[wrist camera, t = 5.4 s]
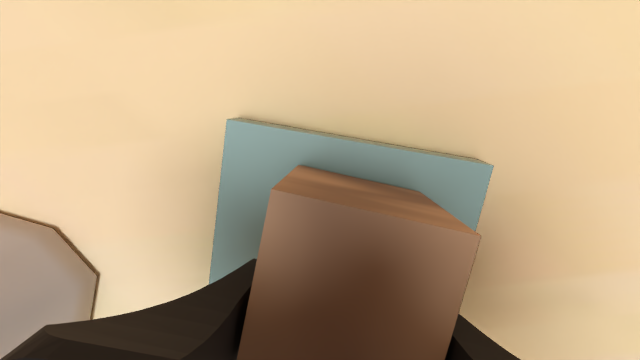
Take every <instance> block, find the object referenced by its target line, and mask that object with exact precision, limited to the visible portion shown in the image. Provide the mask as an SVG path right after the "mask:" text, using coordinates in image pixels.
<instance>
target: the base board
mask: <svg viewBox="0 0 640 360" xmlns="http://www.w3.org/2000/svg"><path fill="white" fill-rule="evenodd" d="M298 165H303V166H307V167H311V168H316V169H320V170H325V171H329V172H334V173H338V174H343V175H347V176H352V177H356V178H361V179H365V180H370V181H374V182H379V183H383V184H388V185H392V186H397V187H401V188H406V189H410V190H415V191H419V192H421V193H422V194H424V195H425V196H426V197H428V198H429V199H431V200H432V201H433V202H435V203H436V204H437V205H439V206H440V207H442V208H443V209H444V210H446V211H447V212H449V213H450V214H451V215H453V216H454V217H455V218H457V219H458V220H460V221H461V222H462V223H464V224H465V225H467V226H468V227H469V228H471V229H472V230H474V231H476V227H477V224H478V220H479V217H480V213H481V209H482V206H483V202H484V199H485V195H486V192H487V188H488V185H489V181H490V177H491V174H492V170H493V167H494V166H493V165H491V164H488V163H486V162H483V161H481V160H478V159H473V158H467V157H461V156H455V155H450V154H444V153H438V152H432V151H427V150H421V149H415V148H409V147H404V146H398V145H392V144H386V143H381V142H375V141H369V140H363V139H358V138H352V137H346V136H340V135H334V134H329V133H323V132H317V131H311V130H306V129H300V128H294V127H288V126H283V125H277V124H271V123H265V122H260V121H254V120H248V119H242V118H233V119H227V122H226V132H225V141H224V150H223V159H222V168H221V177H220V187H219V196H218V205H217V214H216V223H215V232H214V242H213V251H212V260H211V269H210V278H209V284H211V283H213V282H215V281H217V280H219V279H221V278H223V277H224V276H226V275H228V274H229V273H231V272H233V271H234V270H236V269H238V268H239V267H241V266H242V265H244V264H245V263H247V262H249V261H250V260H252V259H254V258H255V259H257V257H258V252H259V247H260V242H261V237H262V232H263V227H264V222H265V217H266V212H267V207H268V202H269V197H270V192H271V189H272V188H273V187H274V186H275V185H276V184H277V183H278V182H280V181H281V180H282V179H283V178H284V177H285V176H286V175H287V174H289V173H290V172H291V171H292V170H293V169H294V168H295V167H296V166H298Z"/></svg>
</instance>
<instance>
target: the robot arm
mask: <svg viewBox="0 0 640 360" xmlns="http://www.w3.org/2000/svg"><path fill="white" fill-rule="evenodd" d="M256 262H257V259H255V258H254V259H252V260H250V261H249V262H247V263H245V264H244V265H242V266H241V267H239V268H238V269H236V270H234V271H233V272H231V273H229V274H228V275H226V276H224V277H223V278H221V279H219V280H217V281H215V282H213V283H211V284H209V285H207V286H206V287H204V288H202V289H200V290H198V291H195V292H193V293H191V294H188V295H186V296H183V297H181V298H178V299H175V300H173V301H170V302H167V303H163V304H160V305H157V306H153V307H150V308H146V309H143V310H139V311H135V312H131V313H126V314H122V315H117V316H111V317H106V318H100V319H94V320H86V321H77V322H68V323H60V324H49V325H45V326H44V327H43V328H41V329H40V330H38V331H37V332H36V333H34V334H33V335H32V336H31V337H29V338H28V339H27V340H25V341H24V342H23V343H21V344H20V345H19V346H17V347H16V348H15V349H13V350H12V351H11V352H9V353H8V354H7V355H5V356H4V357H3V358H1V359H0V360H237V356H238V351H239V346H240V341H241V336H242V331H243V326H244V321H245V316H246V311H247V306H248V301H249V296H250V292H251V287H252V282H253V277H254V272H255V267H256ZM445 360H520V359H519V358H517V357H516V356H514V355H512V354H511V353H509V352H508V351H507V350H505V349H504V348H502V347H501V346H499V345H498V344H497V343H495V342H494V341H493V340H491V339H490V338H489V337H487V336H486V335H485V334H483V333H482V332H481V331H479V330H478V329H477V328H476V327H474V326H473V325H472V324H471V323H469V322H468V321H467V320H466V319H465V318H463V317H462V316H461V315H460V314H459V313H458V317H457V320H456V323H455V327H454V330H453V334H452V337H451V340H450V344H449V347H448V351H447V354H446V357H445Z"/></svg>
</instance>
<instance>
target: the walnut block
mask: <svg viewBox="0 0 640 360" xmlns="http://www.w3.org/2000/svg"><path fill="white" fill-rule="evenodd" d="M480 239H481V236H480V235H479V234H478V233H476V232H475V231H474V230H472V229H471V228H469V227H468V226H467V225H465V224H464V223H462V222H461V221H460V220H458V219H457V218H455V217H454V216H453V215H451V214H450V213H449V212H447V211H446V210H444V209H443V208H442V207H440V206H439V205H437V204H436V203H435V202H433V201H432V200H431V199H429V198H428V197H426V196H425V195H424V194H422V193H421V192H419V191H415V190H410V189H406V188H401V187H397V186H392V185H388V184H383V183H379V182H374V181H370V180H365V179H361V178H356V177H352V176H347V175H343V174H338V173H334V172H329V171H325V170H320V169H316V168H311V167H307V166H303V165H298V166H296V167H295V168H294V169H293V170H292V171H291V172H290V173H289V174H287V175H286V176H285V177H284V178H283V179H282V180H281V181H280V182H278V183H277V184H276V185H275V186H274V187H273V188H272V189H271V192H270V197H269V202H268V207H267V212H266V217H265V222H264V227H263V232H262V237H261V242H260V247H259V252H258V257H257V262H256V267H255V272H254V277H253V282H252V287H251V292H250V296H249V301H248V306H247V311H246V316H245V321H244V326H243V331H242V336H241V341H240V346H239V351H238V356H237V360H445V357H446V354H447V351H448V347H449V344H450V340H451V337H452V334H453V330H454V327H455V323H456V320H457V317H458V313H459V310H460V307H461V303H462V300H463V296H464V293H465V290H466V286H467V283H468V279H469V276H470V273H471V269H472V266H473V263H474V259H475V256H476V252H477V249H478V246H479V242H480Z"/></svg>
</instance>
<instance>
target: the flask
mask: <svg viewBox="0 0 640 360" xmlns="http://www.w3.org/2000/svg"><path fill="white" fill-rule="evenodd" d="M96 279H97V276H96V275H95V274H94V272H93V271H92V270H91V269H90V268H89V267H88V266H87V265H86V264H85V263H84V262H83V261H82V259H81V258H80V257H79V256H78V255H77V254H76V253H75V252H74V251H73V250H72V249H71V248H70V246H69V245H68V244H67V243H66V242H65V241H64V240H63V239H62V238H61V237H60V236H59V235H58V233H57V232H56V231H55V230H54V229H53V228H50V227H46V226H43V225H39V224H36V223H32V222H29V221H25V220H22V219H18V218H15V217H11V216H8V215H4V214H1V213H0V359H1V358H3V357H4V356H5V355H7V354H8V353H9V352H11V351H12V350H13V349H15V348H16V347H17V346H19V345H20V344H21V343H23V342H24V341H25V340H27V339H28V338H29V337H31V336H32V335H33V334H34V333H36V332H37V331H38V330H40V329H41V328H43V327H44V326H45V325H49V324H60V323H68V322H77V321H86V320H90V316H91V310H92V304H93V298H94V291H95V285H96Z"/></svg>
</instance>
